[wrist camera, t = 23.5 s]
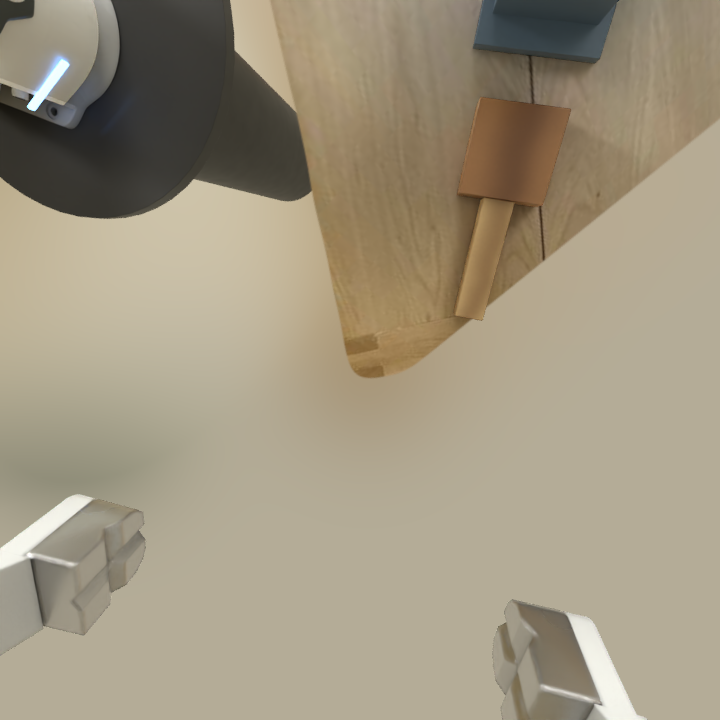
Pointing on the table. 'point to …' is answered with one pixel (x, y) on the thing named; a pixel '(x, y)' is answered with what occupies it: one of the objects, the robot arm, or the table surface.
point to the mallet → (503, 183)
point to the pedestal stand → (545, 27)
